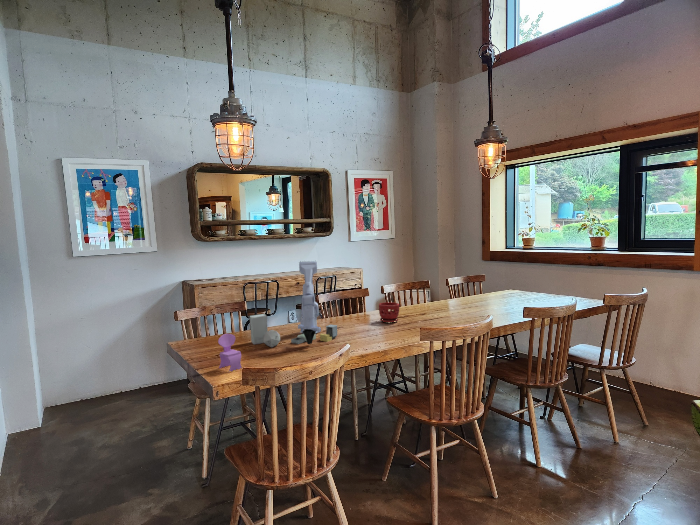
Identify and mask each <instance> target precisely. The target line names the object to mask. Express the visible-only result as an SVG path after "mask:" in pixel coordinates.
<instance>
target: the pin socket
mask: <svg viewBox="0 0 700 525" xmlns="http://www.w3.org/2000/svg"><path fill="white" fill-rule="evenodd" d="M290 343H291V344H295V345H299V344H302V343H306V342H305V341H304V338H299V337H298V336H297V337H294V338H291V339H290Z"/></svg>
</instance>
